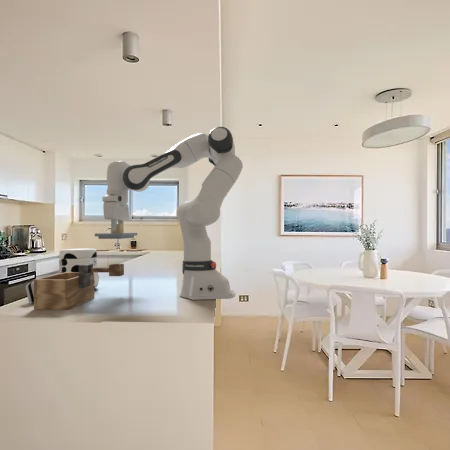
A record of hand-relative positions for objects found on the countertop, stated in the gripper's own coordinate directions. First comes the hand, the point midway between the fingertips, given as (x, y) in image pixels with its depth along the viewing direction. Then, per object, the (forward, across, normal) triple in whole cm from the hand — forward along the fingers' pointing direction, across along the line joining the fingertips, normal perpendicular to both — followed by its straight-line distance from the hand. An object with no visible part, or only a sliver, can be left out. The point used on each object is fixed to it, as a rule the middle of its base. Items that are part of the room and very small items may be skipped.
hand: (117, 230), depth 153 cm
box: (+26, +24, -9) cm, 37 cm away
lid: (+3, 0, 0) cm, 3 cm away
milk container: (+27, -3, -19) cm, 33 cm away
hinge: (+27, +18, -22) cm, 39 cm away
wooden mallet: (+16, +24, +5) cm, 29 cm away
